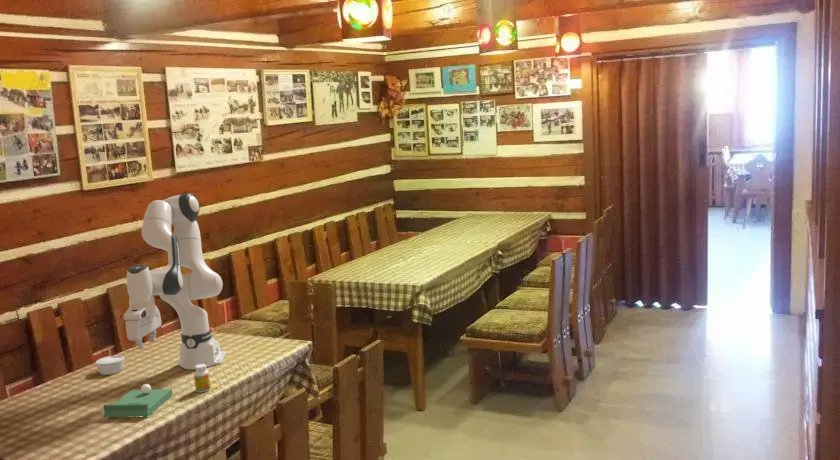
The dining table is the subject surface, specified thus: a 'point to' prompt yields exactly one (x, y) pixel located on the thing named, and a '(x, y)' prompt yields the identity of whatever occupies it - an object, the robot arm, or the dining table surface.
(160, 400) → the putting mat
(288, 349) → the dining table surface
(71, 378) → the dining table surface
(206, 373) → the supplement bottle
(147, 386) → the ball
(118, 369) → the ramekin
